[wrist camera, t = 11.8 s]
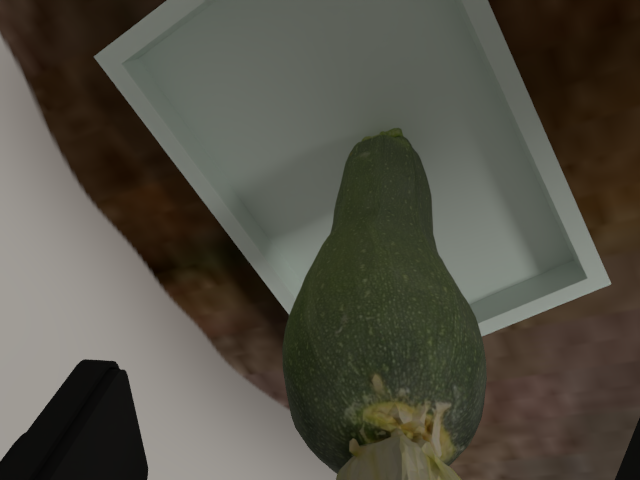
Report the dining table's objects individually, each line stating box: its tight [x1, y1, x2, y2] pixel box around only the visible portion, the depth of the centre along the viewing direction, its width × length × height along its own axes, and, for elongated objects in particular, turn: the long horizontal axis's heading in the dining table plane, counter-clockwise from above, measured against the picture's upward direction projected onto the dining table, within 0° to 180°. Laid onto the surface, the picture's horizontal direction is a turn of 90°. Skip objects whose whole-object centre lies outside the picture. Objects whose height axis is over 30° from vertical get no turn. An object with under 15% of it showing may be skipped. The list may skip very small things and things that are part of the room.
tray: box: [94, 0, 611, 336], centre depth 23 cm, size 20×14×2 cm
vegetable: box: [282, 128, 487, 480], centre depth 14 cm, size 4×4×20 cm
